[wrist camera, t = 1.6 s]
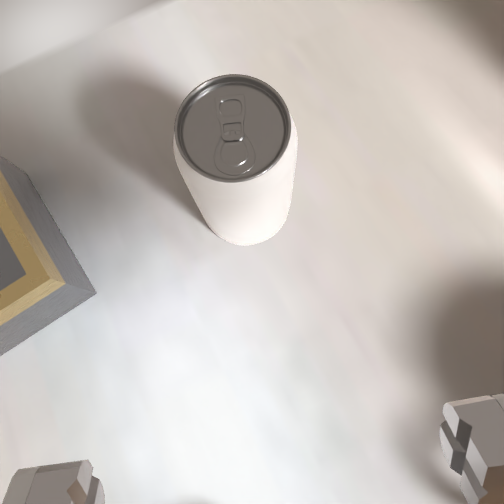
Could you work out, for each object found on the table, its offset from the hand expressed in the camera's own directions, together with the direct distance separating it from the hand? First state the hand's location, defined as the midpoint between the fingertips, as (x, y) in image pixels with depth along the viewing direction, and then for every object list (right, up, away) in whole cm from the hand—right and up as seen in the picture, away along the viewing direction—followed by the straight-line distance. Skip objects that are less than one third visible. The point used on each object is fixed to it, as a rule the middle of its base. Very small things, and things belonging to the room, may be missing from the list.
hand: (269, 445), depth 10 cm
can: (-1, +8, +23) cm, 24 cm away
